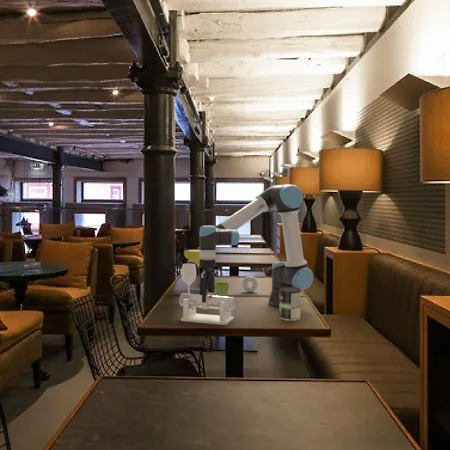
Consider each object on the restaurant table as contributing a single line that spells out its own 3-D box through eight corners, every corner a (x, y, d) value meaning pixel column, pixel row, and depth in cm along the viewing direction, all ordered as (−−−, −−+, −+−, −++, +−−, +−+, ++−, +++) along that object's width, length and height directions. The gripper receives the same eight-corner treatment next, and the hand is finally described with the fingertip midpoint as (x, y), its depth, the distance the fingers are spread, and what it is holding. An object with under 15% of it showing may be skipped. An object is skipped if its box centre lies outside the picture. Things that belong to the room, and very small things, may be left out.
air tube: (235, 309, 227) (235, 296, 227) (231, 311, 221) (231, 297, 221) (184, 305, 236) (184, 292, 236) (178, 306, 230) (179, 293, 230)
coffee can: (279, 320, 228) (280, 290, 227) (278, 315, 238) (278, 287, 237) (302, 321, 227) (302, 291, 226) (299, 315, 237) (299, 287, 237)
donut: (258, 291, 300) (258, 275, 299) (258, 292, 296) (258, 276, 296) (241, 291, 300) (241, 275, 299) (241, 292, 296) (241, 276, 296)
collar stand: (233, 318, 231) (233, 297, 231) (225, 324, 220) (225, 303, 219) (190, 315, 238) (190, 294, 238) (180, 320, 227) (180, 299, 226)
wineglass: (184, 304, 263) (184, 265, 262) (178, 301, 271) (178, 263, 270) (199, 302, 267) (199, 264, 266) (192, 299, 275) (192, 262, 274)
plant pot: (230, 297, 283) (230, 282, 282) (229, 300, 273) (229, 285, 273) (214, 296, 284) (214, 282, 283) (212, 300, 274) (212, 284, 274)
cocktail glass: (212, 292, 298) (212, 251, 296) (183, 292, 298) (182, 251, 297) (213, 286, 316) (213, 248, 314) (185, 286, 316) (185, 248, 315)
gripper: (207, 256, 238) (207, 303, 239) (192, 260, 220) (191, 311, 221) (221, 256, 235) (221, 304, 236) (207, 261, 217) (207, 312, 218)
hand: (207, 307), depth 229 cm, fingers closed on air tube, 6 cm apart
